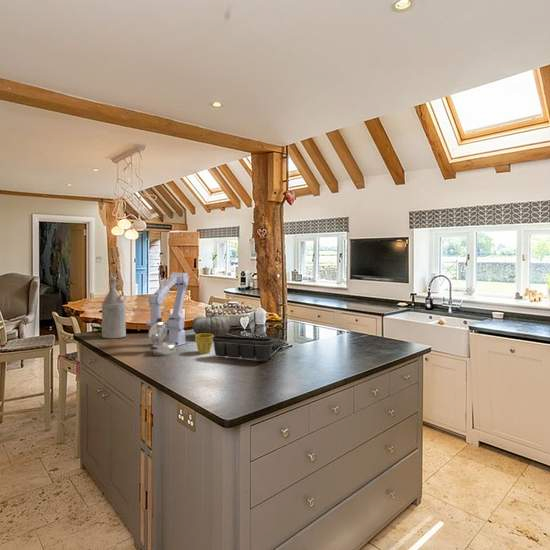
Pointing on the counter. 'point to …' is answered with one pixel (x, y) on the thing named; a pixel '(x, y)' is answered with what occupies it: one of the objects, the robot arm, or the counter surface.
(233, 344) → the dish rack
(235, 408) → the counter surface
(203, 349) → the plant pot
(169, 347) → the cooker pot
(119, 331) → the grey bottle
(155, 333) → the cooker lid
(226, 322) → the gourd
